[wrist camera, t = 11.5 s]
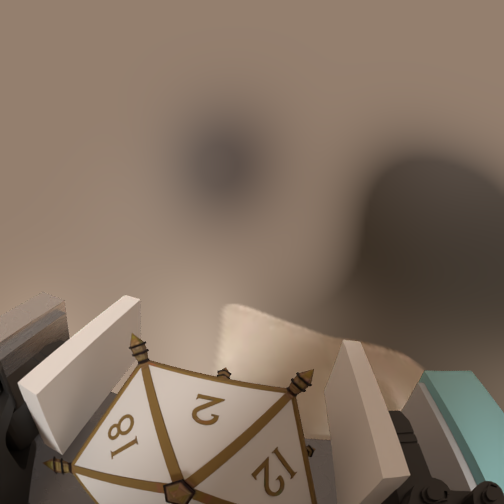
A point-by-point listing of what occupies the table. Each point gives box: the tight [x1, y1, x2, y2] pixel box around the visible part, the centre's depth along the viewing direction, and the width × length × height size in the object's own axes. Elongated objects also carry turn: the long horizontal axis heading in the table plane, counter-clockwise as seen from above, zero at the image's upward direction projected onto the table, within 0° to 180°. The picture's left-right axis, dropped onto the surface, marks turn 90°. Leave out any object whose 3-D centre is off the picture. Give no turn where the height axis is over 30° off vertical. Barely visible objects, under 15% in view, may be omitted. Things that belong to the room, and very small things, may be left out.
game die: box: [43, 333, 317, 504], centre depth 7 cm, size 9×8×10 cm
